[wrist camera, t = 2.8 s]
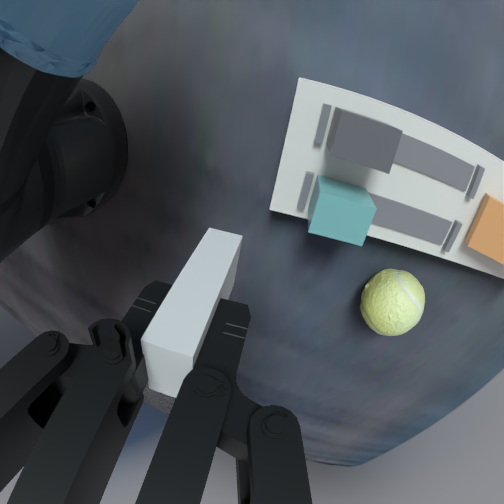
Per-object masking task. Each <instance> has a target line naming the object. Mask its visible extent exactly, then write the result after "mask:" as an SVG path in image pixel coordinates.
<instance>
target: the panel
mask: <svg viewBox="0 0 504 504" xmlns="http://www.w3.org/2000/svg"><path fill="white" fill-rule="evenodd" d="M335 107H339V108H342V109H345V110H349V111H352V112H355V113H358V114H361V115H364V116H367V117H370V118H373V119H376V120H379V121H382V122H384V123H387V124H389V125H391V126H393V127H396V128H398V129H400V130H402V131H403V132H402V135H401V139H400V142H399V145H398V148H397V152H396V155H395V158H394V161H393V164H392V167H391V170H390V173H389V174H387V173H384V172H381V171H378V170H375V169H372V168H369V167H366V166H363V165H360V164H356V163H353V162H350V161H347V160H343V159H340V158H336V157H333V156H330V153H329V151H328V148H327V146H326V142H327V138H328V134H329V130H330V126H331V122H332V119H333V115H334V111H335ZM317 175H321V176H324V177H328V178H332V179H335V180H339V181H342V182H346V183H349V184H352V185H356V186H359V187H362V188H365V189H366V190H367V191H368V193H369V195H370V197H371V199H372V200H373V202H374V204H375V206H376V208H377V209H376V212H375V215H374V217H373V220H372V222H371V225H370V228H369V230H368V233H367V235H368V236H371V237H375V238H378V239H382V240H385V241H389V242H392V243H395V244H399V245H402V246H405V247H409V248H412V249H415V250H419V251H422V252H425V253H428V254H431V255H434V256H438V257H441V258H444V259H447V260H450V261H453V262H456V263H459V264H462V265H465V266H468V267H471V268H474V269H477V270H480V271H483V272H486V273H488V274H491V275H494V276H497V277H500V278H503V279H504V265H503V264H501V263H499V262H497V261H496V260H494V259H492V258H490V257H488V256H486V255H484V254H482V253H480V252H478V251H477V250H475V249H473V248H471V247H469V246H467V244H466V242H465V238H466V236H467V234H468V232H469V230H470V228H471V226H472V224H473V222H474V219H475V217H476V215H477V213H478V210H479V208H480V206H481V203H482V201H483V198H484V196H485V193H487V194H488V195H490V196H492V197H494V198H495V199H497V200H499V201H500V202H502V203H504V161H502V160H500V159H499V158H497V157H496V156H494V155H492V154H491V153H489V152H487V151H486V150H484V149H482V148H481V147H479V146H477V145H475V144H474V143H472V142H470V141H468V140H466V139H464V138H463V137H461V136H459V135H457V134H455V133H453V132H451V131H449V130H447V129H445V128H443V127H441V126H439V125H437V124H434V123H432V122H430V121H428V120H426V119H423V118H421V117H419V116H417V115H414V114H412V113H410V112H407V111H405V110H402V109H400V108H397V107H395V106H392V105H389V104H387V103H384V102H381V101H378V100H376V99H373V98H370V97H367V96H364V95H361V94H358V93H355V92H352V91H348V90H345V89H342V88H338V87H335V86H331V85H328V84H324V83H320V82H316V81H312V80H308V79H304V78H299V80H298V85H297V89H296V94H295V98H294V103H293V108H292V112H291V117H290V121H289V126H288V130H287V134H286V139H285V143H284V148H283V152H282V157H281V161H280V166H279V170H278V174H277V179H276V183H275V188H274V192H273V196H272V201H271V205H270V210H273V211H277V212H281V213H285V214H289V215H293V216H297V217H301V218H305V219H308V207H309V204H310V200H311V197H312V193H313V190H314V186H315V183H316V179H317Z"/></svg>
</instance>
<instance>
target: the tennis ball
mask: <svg viewBox="0 0 504 504" xmlns="http://www.w3.org/2000/svg"><path fill="white" fill-rule="evenodd" d="M424 304H425V294H424V289H423V287H422V285H421V284H420V283H419V281H418V280H417V279H416V278H415V277H414V276H413V275H412V274H410V273H409V272H406V271H403V270H396V269H390V268H389V269H385V270H383V271H381V272H379V273H378V274H376V275H375V276H374V277H372V279H370V280H369V282H368V283H367V284H366V286H365V288H364V290H363V292H362V295H361V303H360V310H361V313H362V316H363V319H364V320H365V322H366V323H367V324H368V326H369V327H370V328H371V329H372V330H374V331H375V332H377V333H378V334H381V335H386V336H395V335H401V334H403V333H405V332H407V331H409V330H410V329H411V328H412V327H414V326H415V325H416V324H417V323H418V321H419V320H420V318H421V316H422V313H423V310H424Z"/></svg>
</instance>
